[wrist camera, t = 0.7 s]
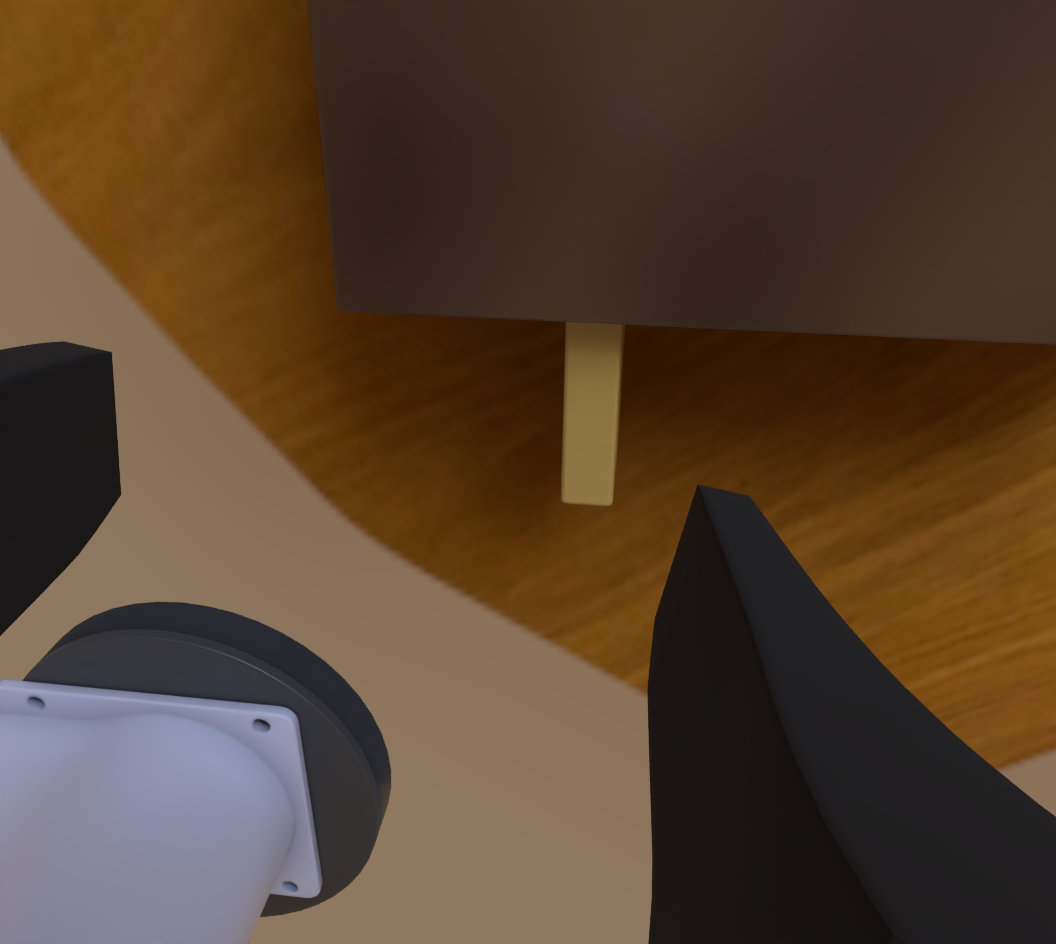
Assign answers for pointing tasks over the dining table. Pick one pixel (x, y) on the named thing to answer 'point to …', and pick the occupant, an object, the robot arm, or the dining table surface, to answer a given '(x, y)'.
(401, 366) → the dining table surface
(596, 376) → the sliding door
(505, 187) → the cabinet
